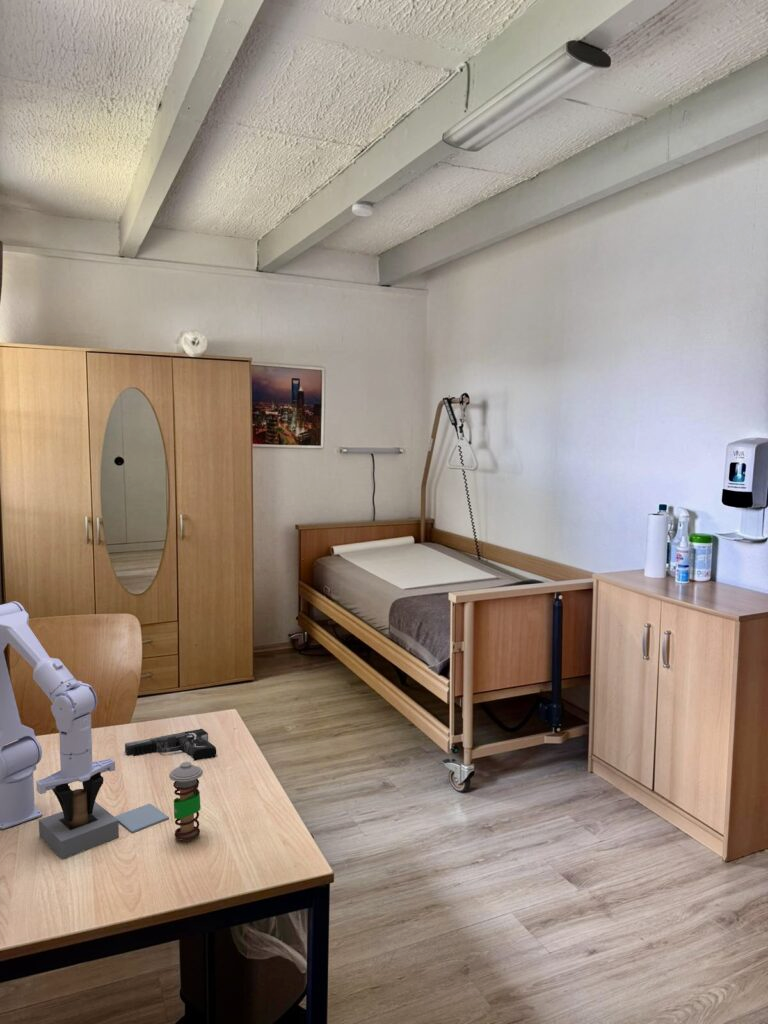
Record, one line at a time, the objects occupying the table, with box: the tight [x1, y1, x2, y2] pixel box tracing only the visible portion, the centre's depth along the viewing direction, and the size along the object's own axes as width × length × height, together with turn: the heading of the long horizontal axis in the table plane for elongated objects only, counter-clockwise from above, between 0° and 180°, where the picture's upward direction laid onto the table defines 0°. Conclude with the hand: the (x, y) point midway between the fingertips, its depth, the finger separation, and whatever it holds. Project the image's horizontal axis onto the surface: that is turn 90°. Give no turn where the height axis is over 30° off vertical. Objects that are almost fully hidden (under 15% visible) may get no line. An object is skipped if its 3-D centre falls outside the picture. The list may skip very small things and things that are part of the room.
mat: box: [113, 803, 170, 834], centre depth 151 cm, size 8×8×1 cm
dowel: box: [69, 788, 88, 830], centre depth 144 cm, size 3×3×8 cm
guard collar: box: [38, 801, 120, 860], centre depth 144 cm, size 11×11×4 cm
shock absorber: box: [168, 761, 204, 842], centre depth 143 cm, size 6×6×15 cm
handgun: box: [124, 728, 217, 761], centre depth 182 cm, size 20×3×14 cm
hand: (78, 816), depth 144 cm, fingers closed on dowel, 3 cm apart
